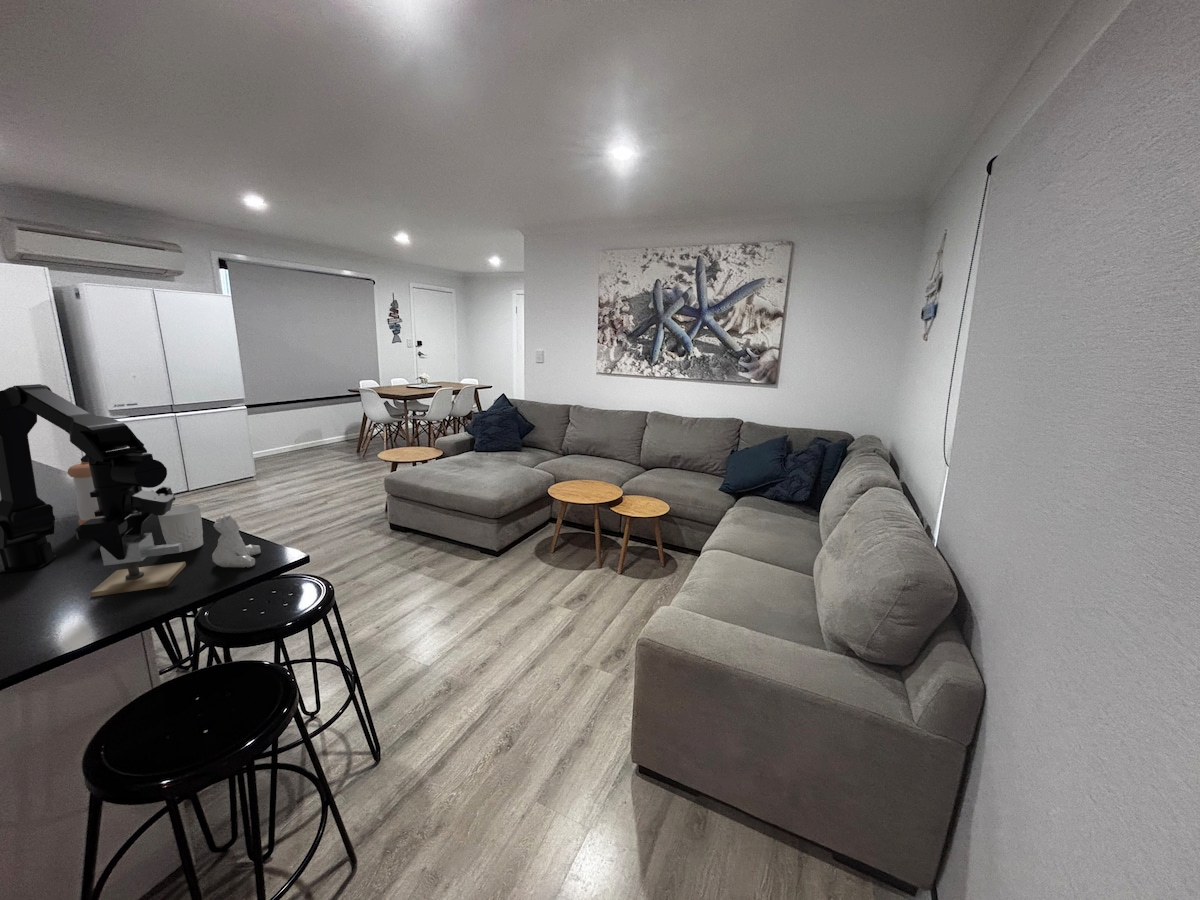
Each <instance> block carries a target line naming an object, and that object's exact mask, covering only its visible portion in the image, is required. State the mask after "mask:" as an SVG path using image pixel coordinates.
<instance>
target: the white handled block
mask: <svg viewBox="0 0 1200 900" xmlns="http://www.w3.org/2000/svg"><path fill="white" fill-rule="evenodd" d="M125 547H126V556H125V559H123V560H117V559H116V558H115V557H114V556H113V555H112V554H110V553H109V552H108V551H107V550H106V549H105V548H103V547H102V546H101V545H100V547H99V550H100V553H101V559H102V562H103V566H104V567H105V566H111V565H113V566H114V565H120V564H127V563H130V562H137V563H138V562H144V560H145V559H146V558H147V557H149V558H151V557H156V556H159V557H160V556H165V555H171V554H179V553H182V552H181V551H182V550H183V549H182V544H181V543H177V544H168V545H167V544H160V545H159V544H158V545H155V542H154V538H153V533H152V532H145V533H142V534H133V535H125Z"/></svg>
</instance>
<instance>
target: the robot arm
mask: <svg viewBox="0 0 1200 900" xmlns="http://www.w3.org/2000/svg"><path fill="white" fill-rule="evenodd" d="M38 416H39V417H41V418H42V419H44V420H46V421H48V422H49V423H51V424H52V425H54V426H56V427H58V428H60V429H61V430H63V431H64V432H66V433H67V434H68V435H69V442H70V443H71V444H72V445H74V446H75V447H76V448H78V449H79V450H80V451H81V452H83V453H84V455H83V456H82V457H81V458H80V462H81V461H82V462H88V463H89V467H90V471H91V476H92V480H93V484H94V489H95V490H94V491H92V492H90V496H91V497H96V498H97V502H98V506H99V510H97V511H95V512H94V513H95V517H99V516H104V517H105V518H96V519H90V520H88V521H86V522H85V523H83V524H81V525H79V526H78V527H77V528H75V530H74V532H75V537H76V539H77V540H78V541H81V540H92V541H94V542H96V543H97V544H98V545H100V547H101V546H102V547H103V548H105V549H106V550H107V551H108V552H109V553H110V554H112V555H113V556H114V557H115V558H116V559H117V560H123V559H125V556H126V547H125V535H133V534H143V531H144V528H145V523H146V520H148V518H149V517H151V516H152V515H154V516H157V517H158V516H161V515H165V514H166V512H168V511H170V509H171V507H173V506H172V505H173V502H174V501H175V500H176V497H175V494H173V489H172V488H171V487H170V486H164V485H162V484H163V482H164V481H165V480H166V478H167V475H168V470H167V467H166V466H165V464H164V463H163V462H162V461H160V460H157V459H154V457H153V453H148V450H147V449H146V448H145V444H144V443H143V442H142V441H141V440H140V439H139V438H138V437H137V435H135V433H134V431H132V429H131V428H130V427H129V426H128V425H127V424H126V423H124V422H122V421H121V420H117V419H115V418H112V417H108V416H103V415H102V416H101V415H97V414H96V415H95V414H92V413H90V412H88V411H86V410H85V409H83V408H82V407H80V406H78V405H76V404H74V403H73V402H71V401H69V400H67V399H66V398H64V397H62V396H61V395H59V394H57V393H55V392H53V390H52V389H51V388H50V387H49V386H48V385H45V384H42V383H40V384H39V383H38V384H20V385H13V386H10V387H7V388H6V389H2V390H0V498H1V499H0V560H1V563H2V567H3V568H1V569H0V574H5V573H15V572H22V571H30V570H39V569H41V568H42V567H44V566H45V565H47V564H49V563H50V562H51V561H53V560H55V559H56V558H57V555H56V554H54V552H53V547H52V544H51V542H50V541H48V539H47V536H51V535H54V534H55V522H56V516H55V515H54V506H52V504H49V503H46V502H45V501H44V500H43V499H41V498H40V497H39V496H38V493H37V486H36V480H35V473H34V468H33V461H32V455H31V448H30V442H29V433H30V432H31V431H32V429H33V428H34V427H35V426H36V424H37V422H38ZM160 485H162V486H161V487H159V486H160ZM156 487H159V488H157V489H156V491H154V490H152V488H156ZM143 488H147V489H150V488H151V490H150V491H147V490H143Z"/></svg>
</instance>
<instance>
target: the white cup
mask: <svg viewBox="0 0 1200 900" xmlns="http://www.w3.org/2000/svg"><path fill="white" fill-rule="evenodd" d="M201 511H202V510H201V505H199V504H181V505H180V504H179V505H174V506H171V509H170V511H168V512H166V514H165V515H161V516H158V515H157V517H158V521H159V524H160V525H159V526H160V529H161V532H162V535H163V538H164V541H165V543H166V544H167V545H168V544H177V543H181V544H182V549H183V550H182V551H181V552H180V553H183V552H184V553H185V552H189V551H193V550H195V549H198V548H201V547H202V546H203V545H204V537H203V536H204V535H203V534H204V531H203V520H202V512H201Z"/></svg>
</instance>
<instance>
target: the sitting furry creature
mask: <svg viewBox="0 0 1200 900" xmlns="http://www.w3.org/2000/svg"><path fill="white" fill-rule="evenodd" d="M213 527H214V529H215V530H216V531H217V532H218V533H220V536H219V538H218V539H217V546H216V548H214V551H213V553H212V555H211V557H212V562H213V563H215V565H216V566H218V567H221V568H245V567H247V568H251V567H254V566H255V564H256V558H254V557H252V556H254V555H258V554H261V546H260V545H258V544H257V545H255V544H248V545H246V544H245V542H244V541H243V538H242V537H241V534H240V531H239V530H240V529H241V527H240V526H239V524H238V521H237V519H234V518H233V516H231V514H230V513H227V514H226V513H225V514H223V516H222V515H221V516H218V518H217V519H216V520H215V522H214V523H213Z"/></svg>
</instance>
